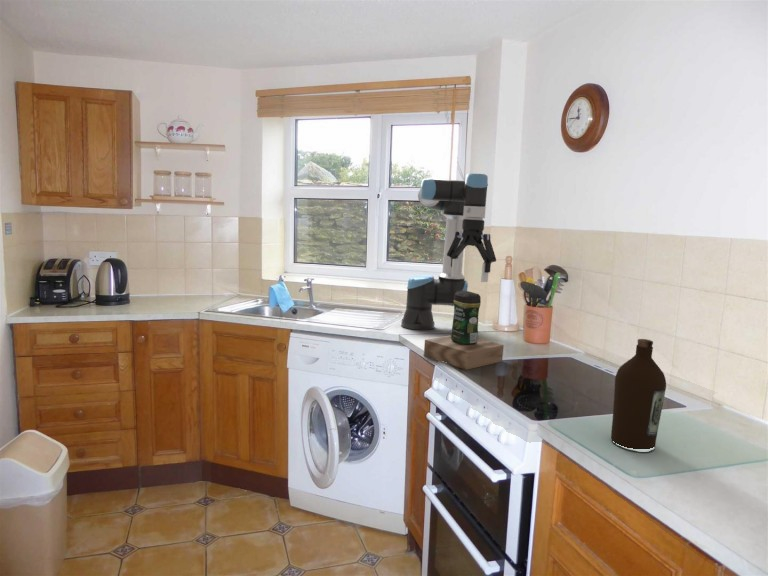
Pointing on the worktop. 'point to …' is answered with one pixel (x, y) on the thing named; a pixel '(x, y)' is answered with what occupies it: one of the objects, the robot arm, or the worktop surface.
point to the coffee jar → (465, 317)
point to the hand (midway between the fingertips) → (468, 279)
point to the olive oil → (638, 399)
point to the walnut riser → (463, 352)
